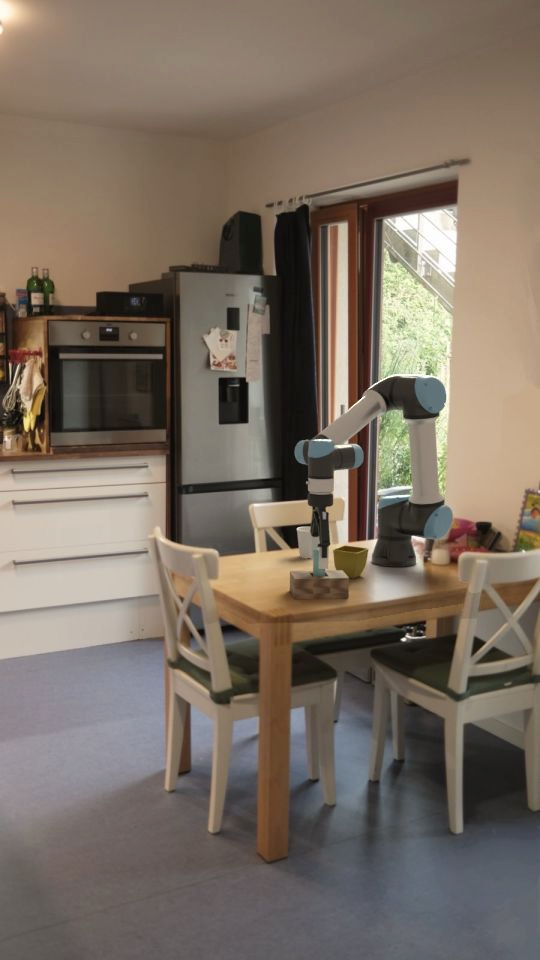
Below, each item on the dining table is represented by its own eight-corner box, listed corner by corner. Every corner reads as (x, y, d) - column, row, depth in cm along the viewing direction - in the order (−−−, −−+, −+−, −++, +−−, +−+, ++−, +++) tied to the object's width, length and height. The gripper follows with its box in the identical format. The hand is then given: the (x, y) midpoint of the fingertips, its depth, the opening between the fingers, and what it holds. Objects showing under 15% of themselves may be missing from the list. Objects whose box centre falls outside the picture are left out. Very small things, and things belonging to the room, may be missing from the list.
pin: (323, 587, 292) (324, 548, 291) (325, 590, 289) (326, 550, 287) (311, 588, 292) (312, 548, 290) (313, 591, 288) (314, 551, 287)
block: (342, 589, 296) (342, 570, 296) (348, 598, 286) (348, 578, 286) (289, 590, 294) (290, 571, 294) (294, 599, 285) (294, 578, 284)
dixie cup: (316, 560, 337) (316, 531, 336) (293, 558, 340) (293, 529, 338) (322, 555, 345) (323, 527, 344) (299, 553, 347) (300, 525, 346)
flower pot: (368, 575, 315) (369, 548, 314) (356, 580, 308) (357, 552, 307) (344, 572, 320) (344, 545, 318) (331, 577, 312) (332, 549, 311)
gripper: (301, 486, 298) (300, 554, 301) (314, 499, 274) (313, 573, 277) (325, 486, 299) (324, 554, 302) (341, 498, 274) (339, 572, 277)
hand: (319, 563), depth 289 cm, fingers open, 13 cm apart
